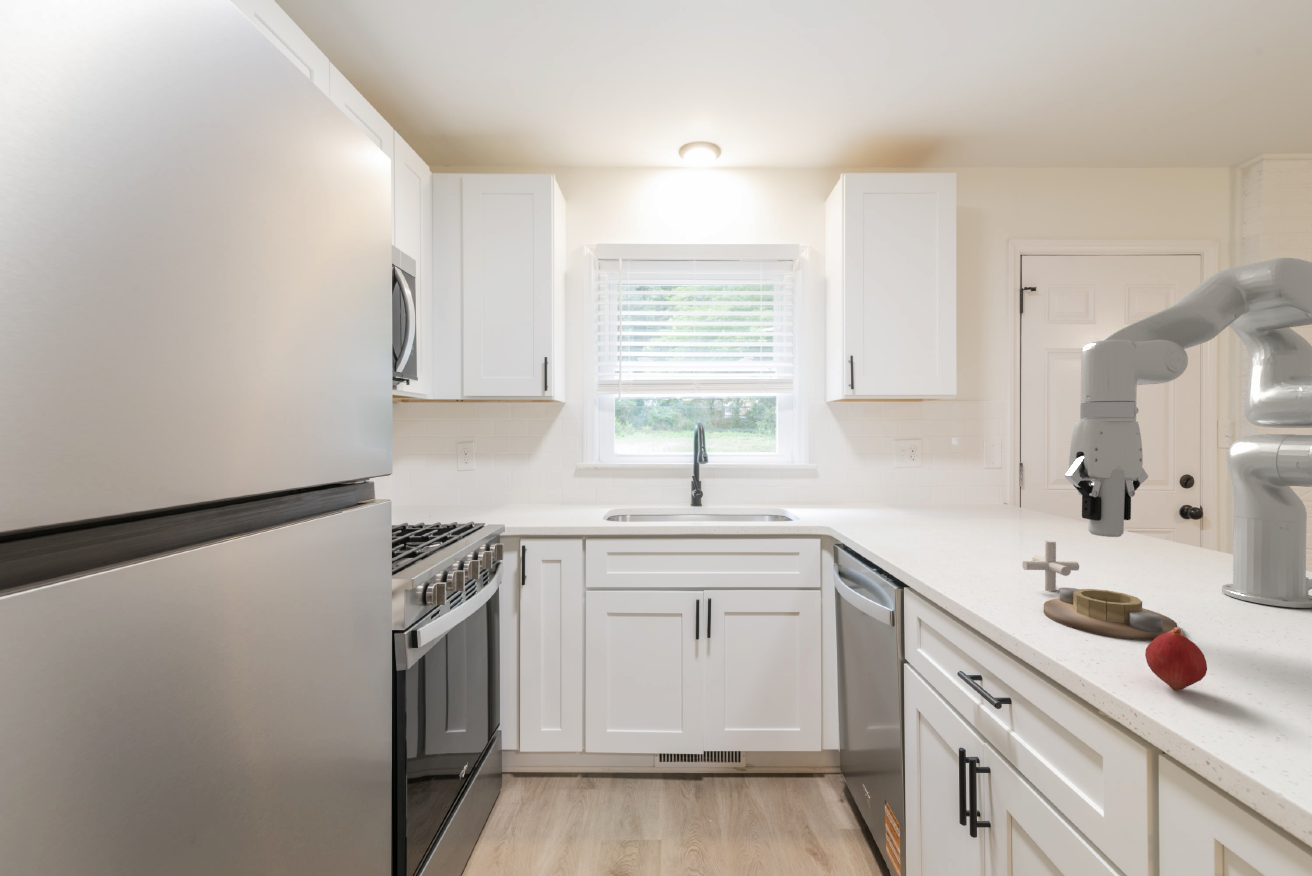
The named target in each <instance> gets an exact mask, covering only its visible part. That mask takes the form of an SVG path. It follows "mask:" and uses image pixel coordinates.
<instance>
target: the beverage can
mask: <svg viewBox="0 0 1312 876" xmlns="http://www.w3.org/2000/svg"><path fill="white" fill-rule="evenodd" d="M1117 467H1119V468H1120V467H1121V466H1117ZM1091 484H1092V482H1090V483H1089V485H1090V486H1091ZM1097 497H1101V520H1099V521H1095V520H1090V519H1087V521H1088V523H1087V524H1088V528H1087V530H1088V532H1089V533H1090V534H1091V535H1094V536H1098V537H1099V536H1100V537H1108V538H1119V537H1121V536H1122V535H1123V534H1124V532H1125V531H1124V528H1125V527H1124V526H1125V525H1124V523H1125V520H1124V498H1125V475H1124V470H1123V469H1114V470H1113V471H1112V473H1111V476H1110V478H1107V479H1102V481H1101V485H1100V489H1099V493H1098V496H1097Z"/></svg>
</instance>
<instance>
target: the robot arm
mask: <svg viewBox="0 0 1312 876" xmlns="http://www.w3.org/2000/svg"><path fill="white" fill-rule="evenodd" d="M1311 325H1312V261H1308V260H1306V259H1305V260H1304V259H1301V258H1295V257H1278V258H1277V257H1276V258H1273V259H1269V260H1265V261H1260V262H1255V263H1249V264H1245V265H1240V266H1236V267H1232V268H1228V269H1224V270H1221V271H1219V272H1216V273H1214V274H1212V275H1210V276H1209V277H1207V278H1206V279H1204V280H1203V281H1202V282H1201V283H1200V284H1199V285H1197V286H1196V287H1195V288H1193V289H1192V290H1191V291H1189V292H1188V293H1187V294H1186V295H1184V296H1183V297H1182V298H1180V299H1179V300H1178V301H1176V303H1174V304H1173V305H1171V306H1169V307H1167V308H1164V309H1162V310H1159V311H1158V312H1156V313H1153V314H1151V315H1150V316H1147V317H1145V318H1143V319H1140V320H1138V321H1136V322H1134V323H1132V324H1129V325H1127V326H1125V327H1123V328H1121V329H1119V330H1117V331H1116V332H1113V333H1111V334H1110V335H1109V336H1108V337H1107V338H1105V339H1104V340H1097V341H1092V342H1089V343H1087V344H1085V345H1084V346H1083V347H1082V350H1081V355H1080V361H1081V362H1080V407H1079V409H1080V417H1079V418H1080V419H1079V421H1076V422H1075V424H1074V427H1073V431H1072V435H1071V441H1070V449H1069V456H1068V457H1069V458H1068V471H1067V472H1066V473H1065V476H1064V478H1065V479H1066V480H1067V481H1068V482H1069V483H1070V484H1072V486H1073V487H1074V488H1075V489H1076V490H1077V493H1078V495H1080V496H1081V517H1082V519H1085V520H1088V519H1090V520H1095V521H1099V520H1101V497H1097V496H1098V493H1099V489H1100V485H1101V481H1102V479H1107V478H1110V476H1111V473H1112V471H1113V470H1114V469H1123V470H1124V475H1125V498H1124V521H1131V520H1132V519H1131V517H1132V498H1133V497H1134V496H1135V494H1136V491H1137V490H1138V489H1139V487H1140V486H1141V484H1143V483H1144V482H1145V481H1146V480H1148V478H1149V474H1148V473H1147V472H1146V470H1145V469H1144V467H1143V465H1144V463H1143V462H1144V461H1143V456H1144V455H1143V444H1142V442H1143V441H1142V434H1141V429H1140V425H1139V421H1137V414H1138V413H1139V411H1140V410H1139V408H1138V406H1137V389H1138V386H1145V385H1147V386H1148V385H1160V384H1166V383H1170V382H1172V381H1174V380H1176V379H1178V378H1179V377H1180V376H1182V375H1183V374H1184V373H1185V371H1186V370H1187V367H1188V364H1189V357H1188V354H1187V353H1188V352H1187V351H1186V349H1189V348H1190V349H1191V348H1193V347H1196V346H1198V345H1202V344H1205V343H1206V342H1210V341H1211V340H1213V339H1214V338H1216V337H1217V336H1219V335H1220V334H1221V333H1222V332H1223V331H1224V330H1225V329H1227V327H1229V328H1230V329H1231V330H1232V331H1233V332H1234V333H1235V334H1236V336H1237V337H1238V338H1239V339H1240V341H1241V342H1242V343H1243V345H1244V346H1245V348H1246V349H1245V350H1246V351H1247V353H1248V357H1249V362H1248V363H1249V364H1248V373H1247V381H1246V390H1245V391H1246V392H1245V398H1244V400H1245V401H1244V416H1245V417H1246V420H1247V421H1248V422H1249V423H1250V424H1252V425H1255V426H1256V427H1262V428H1263V427H1264V428H1274V429H1275V428H1276V429H1277V428H1279V429H1284V428H1285V429H1312V345H1311V344H1310V342H1308V340H1307V339H1306V338H1305V337H1303V336H1302V335H1301V334H1299V333H1298V332H1296V331H1294V329H1293V328H1296V327H1305V326H1311ZM1226 461H1227V468H1228V470H1229V474H1230V478H1231V479H1230V480H1231V485H1232V492H1233V493H1232V494H1233V539H1232V541H1233V542H1232V545H1233V549H1232V551H1233V553H1232V558H1233V559H1232V583H1227V584H1223V585H1222V586H1221V592H1222V593H1223V594H1224V595H1227V596H1229V597H1232V598H1235V599H1239V600H1241V601H1246V602H1250V603H1255V604H1262V605H1266V606H1274V607H1282V608H1294V609H1312V595H1310V594H1309V591H1310V590H1312V578H1309V577H1306V576H1307V523H1308V522H1307V520H1308V517H1307V516H1308V514H1307V508H1306V505H1305V504H1304V501H1303V500H1302V499H1301V497H1300V496H1299V495H1298V494H1297V493H1296V492H1295V491H1294V490H1293V488H1291V487H1302V488H1304V487H1305V488H1312V434H1295V433H1294V434H1288V433H1287V434H1281V433H1280V434H1277V433H1275V434H1271V433H1270V434H1268V433H1267V434H1266V433H1265V434H1263V433H1262V434H1253V435H1246V436H1243V437H1240V438H1239V439H1236V440H1235V441H1233V442H1232V444H1230V446H1229V447H1228V449H1227V453H1226ZM1117 466H1121V467H1120V468H1119V467H1117ZM1090 482H1092V484H1091V486H1090V485H1089V483H1090Z"/></svg>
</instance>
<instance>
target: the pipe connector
mask: <svg viewBox="0 0 1312 876" xmlns="http://www.w3.org/2000/svg"><path fill="white" fill-rule="evenodd" d="M1044 543H1045V545H1044V557H1042V556H1041V555H1037V554H1035V555H1034V556H1033V557H1032V560H1023V561H1022V564H1021V565H1022V566H1021V567H1022V568H1023V570H1027V571H1044V590H1045V591H1049V592H1056V590H1057V589H1056V588H1057V585H1056V584H1057V574H1059V575H1061V576H1065V577H1068V576H1069V575H1071V572H1072V571H1079V569H1080V564H1079V562H1078V561H1065V560H1064V561H1063V560H1062V561H1060V560H1059V561H1058V560H1057V541H1054V540H1045V541H1044Z"/></svg>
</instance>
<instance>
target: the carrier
mask: <svg viewBox="0 0 1312 876" xmlns="http://www.w3.org/2000/svg"><path fill="white" fill-rule="evenodd" d="M1043 613H1044V615H1045V616H1046V617H1047V618H1048V619H1049V620H1052V621H1053V622H1056V623H1058V624H1060V625H1063V626H1065V625H1066V627H1068V626H1069V628H1071V627H1072V629H1074V630H1075V629H1076V630H1078V629H1079V631H1082V632H1086V633H1090V634H1096V635H1100V636H1106V637H1111V638H1118V639H1123V640H1124V639H1125V640H1134V639H1137V641H1153V640H1154V639H1155V638H1156V637H1158V636H1159V635H1161V634H1164V633H1167V632H1169V631H1172V630H1173V629H1174V628H1178V623H1177V622H1176V621H1175V620H1173V619H1172V618H1171V617H1168V616H1166V615H1164V614H1162V613H1159V612H1156V611H1153V610H1149V609H1147V608H1143V600H1141V599H1140V598H1139V597H1137V596H1133V595H1131V594H1127V593H1123V592H1119V591H1113V590H1107V589H1098V588H1097V589H1096V588H1081V589H1080V588H1075V587H1060V588H1059V597H1058V598H1052V599H1049V600H1046V601H1045V602H1044V603H1043ZM1138 639H1140V640H1138Z"/></svg>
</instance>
